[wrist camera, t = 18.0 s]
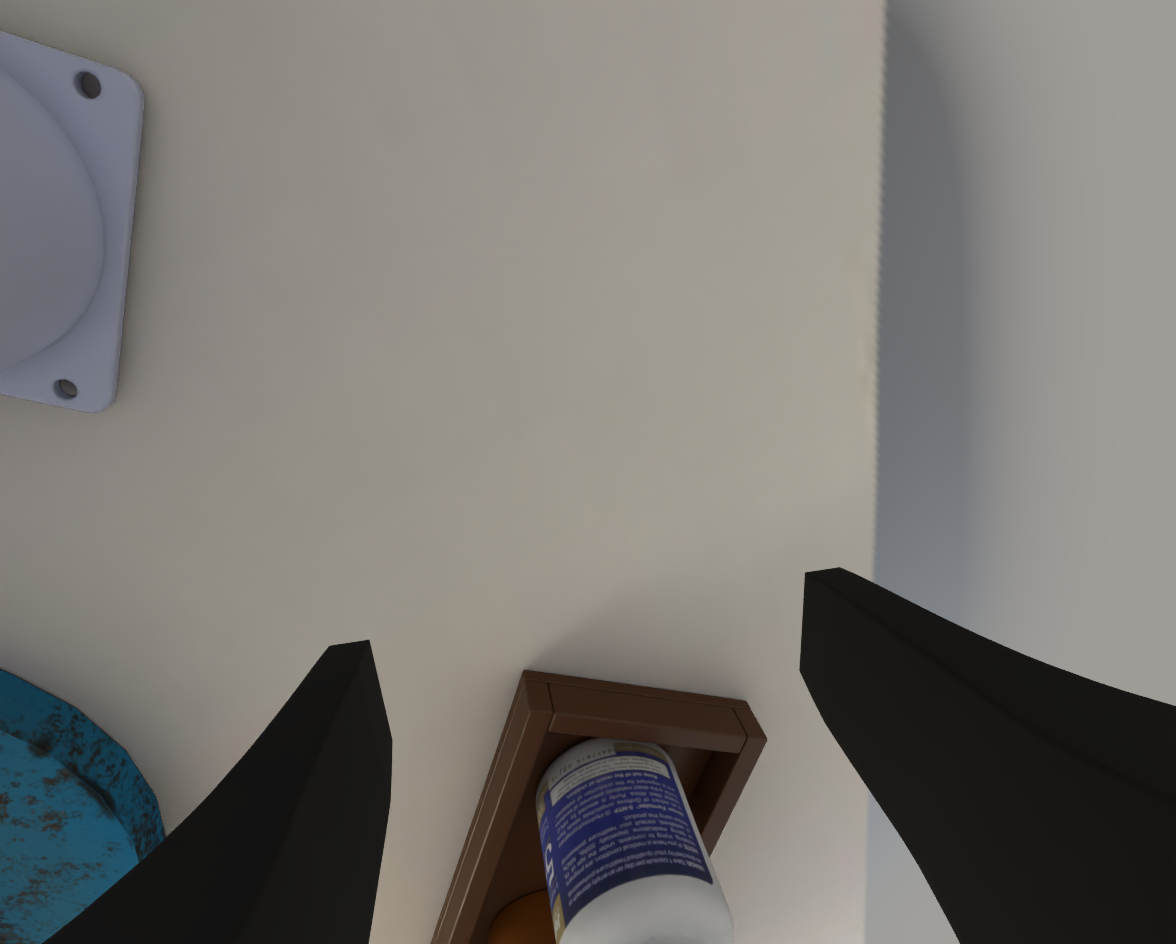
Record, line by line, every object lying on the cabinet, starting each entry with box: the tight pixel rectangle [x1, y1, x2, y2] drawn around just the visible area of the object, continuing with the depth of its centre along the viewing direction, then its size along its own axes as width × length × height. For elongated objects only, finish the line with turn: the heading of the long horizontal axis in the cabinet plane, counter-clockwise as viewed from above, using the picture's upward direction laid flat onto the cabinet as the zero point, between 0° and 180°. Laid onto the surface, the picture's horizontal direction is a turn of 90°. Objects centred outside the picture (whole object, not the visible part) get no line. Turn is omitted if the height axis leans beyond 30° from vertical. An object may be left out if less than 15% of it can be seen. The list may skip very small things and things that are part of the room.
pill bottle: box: [536, 737, 734, 944], centre depth 23 cm, size 5×5×9 cm
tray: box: [431, 670, 767, 944], centre depth 29 cm, size 9×24×2 cm, turn 162°
